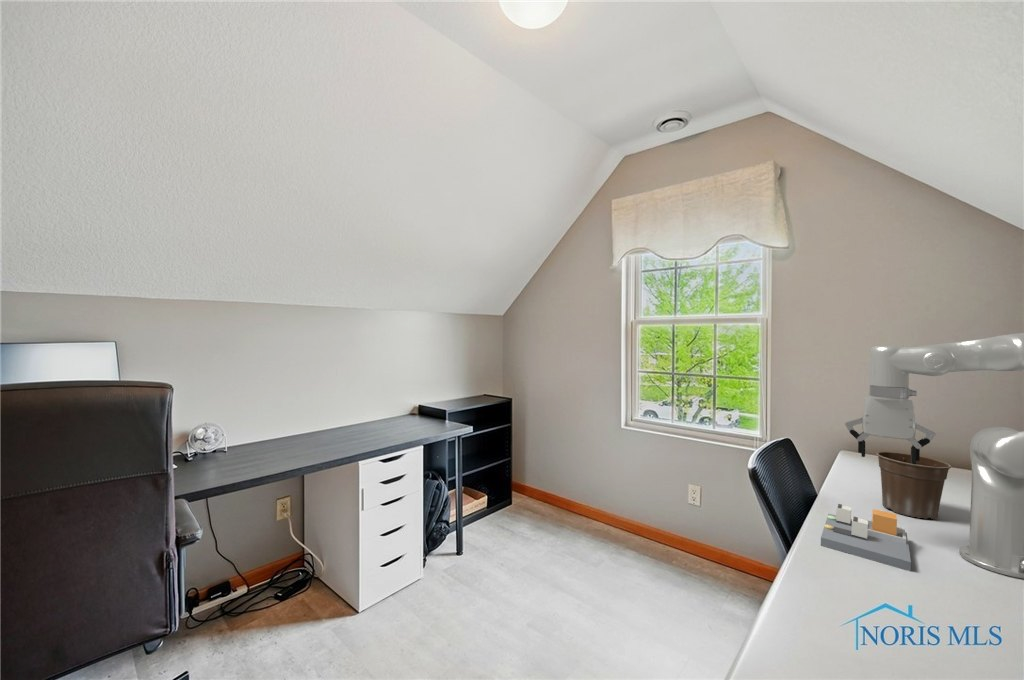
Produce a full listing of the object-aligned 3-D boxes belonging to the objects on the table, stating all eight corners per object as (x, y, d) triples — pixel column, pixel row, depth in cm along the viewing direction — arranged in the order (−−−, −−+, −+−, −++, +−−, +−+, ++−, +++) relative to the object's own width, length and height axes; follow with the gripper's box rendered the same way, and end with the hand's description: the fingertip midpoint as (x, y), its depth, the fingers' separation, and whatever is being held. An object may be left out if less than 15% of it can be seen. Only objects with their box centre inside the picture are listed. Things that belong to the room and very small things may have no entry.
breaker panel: (910, 571, 92) (911, 556, 92) (820, 545, 102) (821, 532, 102) (906, 540, 107) (906, 527, 107) (828, 520, 117) (828, 509, 117)
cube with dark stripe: (867, 538, 102) (867, 523, 102) (851, 534, 104) (851, 519, 104) (867, 534, 104) (868, 519, 104) (852, 530, 106) (852, 516, 106)
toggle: (850, 523, 110) (850, 509, 110) (835, 520, 112) (836, 506, 112) (850, 520, 112) (851, 506, 112) (836, 517, 114) (837, 503, 114)
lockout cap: (896, 539, 103) (897, 519, 103) (872, 533, 106) (872, 514, 105) (895, 533, 106) (896, 514, 106) (872, 527, 109) (872, 508, 109)
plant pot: (939, 509, 128) (941, 457, 128) (957, 529, 115) (959, 470, 115) (870, 497, 137) (872, 448, 137) (879, 513, 124) (881, 459, 124)
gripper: (933, 395, 105) (932, 463, 105) (845, 389, 116) (844, 450, 116) (938, 398, 99) (937, 469, 99) (845, 391, 110) (844, 456, 110)
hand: (887, 459), depth 108 cm, fingers open, 9 cm apart
